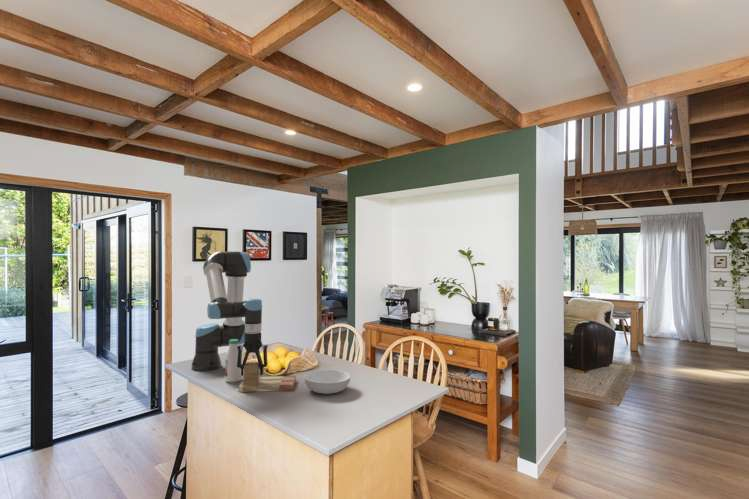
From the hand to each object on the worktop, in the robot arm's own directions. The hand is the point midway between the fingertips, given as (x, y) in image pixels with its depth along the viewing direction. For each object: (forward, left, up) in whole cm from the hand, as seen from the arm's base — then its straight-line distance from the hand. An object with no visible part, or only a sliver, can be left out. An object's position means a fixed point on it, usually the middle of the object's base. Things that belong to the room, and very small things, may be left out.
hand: (252, 382), depth 180 cm
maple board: (-3, +7, -3) cm, 8 cm away
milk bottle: (-13, -12, -3) cm, 18 cm away
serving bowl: (+5, +35, -3) cm, 35 cm away
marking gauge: (+1, 0, -2) cm, 2 cm away
